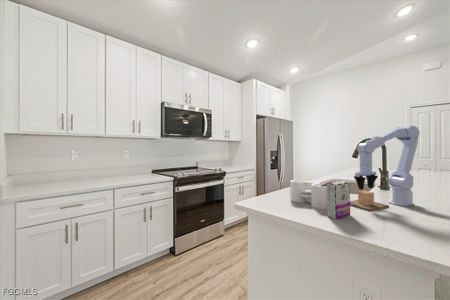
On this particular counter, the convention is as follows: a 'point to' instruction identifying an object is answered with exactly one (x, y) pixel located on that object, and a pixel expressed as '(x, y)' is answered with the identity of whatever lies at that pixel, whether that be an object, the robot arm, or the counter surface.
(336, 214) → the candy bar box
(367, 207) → the post board
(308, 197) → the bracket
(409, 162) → the robot arm
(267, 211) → the counter surface
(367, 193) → the tan rectangular block
